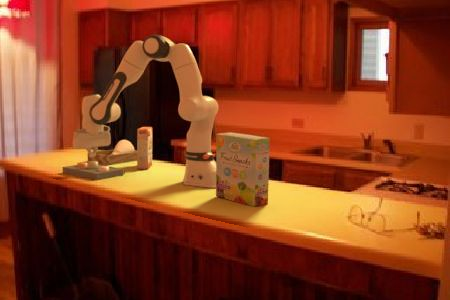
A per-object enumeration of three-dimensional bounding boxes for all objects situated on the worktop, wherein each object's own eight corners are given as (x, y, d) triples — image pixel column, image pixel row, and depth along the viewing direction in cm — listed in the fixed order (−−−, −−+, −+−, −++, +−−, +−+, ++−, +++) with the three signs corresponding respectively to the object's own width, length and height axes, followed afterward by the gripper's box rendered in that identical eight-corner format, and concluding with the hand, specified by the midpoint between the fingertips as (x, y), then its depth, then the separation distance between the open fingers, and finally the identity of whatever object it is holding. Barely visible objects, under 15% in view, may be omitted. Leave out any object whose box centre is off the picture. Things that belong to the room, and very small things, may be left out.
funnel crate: (142, 159, 284) (142, 151, 283) (107, 165, 264) (107, 156, 263) (122, 156, 294) (122, 148, 293) (87, 161, 274) (87, 152, 273)
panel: (123, 175, 238) (123, 169, 238) (97, 180, 226) (97, 173, 225) (89, 168, 254) (89, 162, 253) (62, 173, 241) (62, 167, 241)
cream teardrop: (108, 146, 268) (124, 135, 284) (96, 158, 273) (113, 147, 289) (122, 162, 269) (138, 150, 285) (110, 173, 274) (126, 162, 290)
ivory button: (111, 175, 235) (111, 166, 235) (103, 177, 231) (102, 168, 231) (104, 174, 238) (104, 165, 238) (96, 176, 234) (96, 167, 234)
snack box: (213, 197, 197) (214, 133, 194) (229, 193, 203) (230, 131, 200) (254, 207, 182) (255, 138, 178) (269, 203, 188) (271, 136, 184)
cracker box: (148, 169, 254) (148, 129, 251) (136, 169, 254) (136, 129, 251) (153, 165, 267) (152, 126, 264) (141, 164, 268) (141, 126, 265)
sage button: (100, 170, 240) (100, 161, 239) (92, 172, 236) (91, 163, 235) (93, 169, 243) (93, 160, 242) (85, 170, 239) (85, 162, 238)
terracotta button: (90, 171, 245) (89, 163, 244) (81, 173, 241) (81, 164, 240) (83, 170, 248) (83, 161, 247) (75, 171, 244) (75, 163, 243)
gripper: (77, 130, 226) (78, 159, 228) (112, 127, 243) (112, 154, 245) (69, 129, 230) (70, 158, 232) (104, 126, 246) (104, 153, 248)
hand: (92, 156), depth 239 cm, fingers closed
